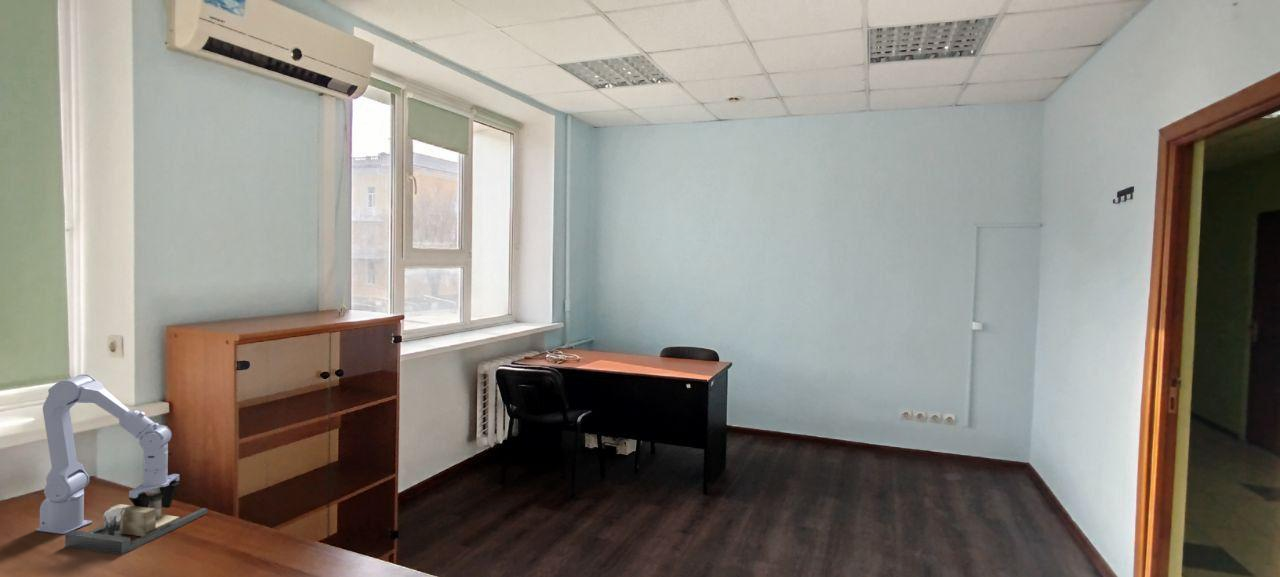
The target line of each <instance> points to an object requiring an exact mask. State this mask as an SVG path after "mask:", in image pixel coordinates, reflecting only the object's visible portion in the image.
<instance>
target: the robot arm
mask: <svg viewBox="0 0 1280 577" xmlns="http://www.w3.org/2000/svg"><path fill="white" fill-rule="evenodd" d="M47 393H48V394H47V397H46V399H45V401H44V402H43V406H42V413H43V419H44V426H45V432H46V439H47V443H48V444H47V446H48V451H49V458H50V464H51V469H50V470H49V472H48V473H47V476H46V478H45V480H46V484H45V487H44V489H43V493H44V496H45V498H44V500H43V501H42V502H41V504H40V506H39V527H37V528H35V529H36V530H35V531H38V532H46V533H52V534H61V535H65V534H67V533H69V532H72V531H74V530H78V529H81V528H83V527H85V526H87V525H89V524H92V522H93V521H92V520H87V519H84V518H85V517H84V516H85V514H84V511H85V510H84V509H85V508H84V507H85V488H86V487H87V486H88V484H89V483H90V475H89V474H88V472H87V471H86V469H85V467H84V464H83V463H82V462H79V461H78V457H77V450H76V445H75V438H74V432H73V423H72V418H71V412H70V411H71V410H70V409H71V408H72V407H73V406H75V404H77V403H78V404H79V403H83V404H85V403H86V404H88V403H89V404H95V405H96V406H98V407H99V408H101V409H102V410H104V411H105V412H106V413H108V414H110V415H112V416H113V417H115V418H116V419H118V422H119V423H118V425H119V427H121V428H122V429H124V430H125V431H126V432H127V433H129V434H130V435H132V436H133V437H135V439H137V440H139V441H138V442H139V443H138V444H139V446H140V447H141V448H142V449H143V470H142V472H143V474H142V477H143V478H142V483H141V484H139V485H138V486H136V487H135V488H133V489H131V490H128V491H129V492H128V493H129V494H128V499H129V500H130V502H131V503H132V504H133V506H139V507H147V508H148V506H149V502H150V499H151V497H152V496H148V494H147V493H149V492H151V491H154V490H156V489H159V491H160V493H163V498H162V499H161V503H162V508H165V509H170V507H171V505H172V502H173V499H174V496H175V494H176V493H177V491H178V489H179V488H180V487H181V483H180V482H179V481H180V473H179V474H178V473H172V474H168V473H169V472H168V470H169V468H168V464H169V463H168V461H169V459H168V458H169V443H168V442H170V441H171V439H172V437H173V436H172V431H171V429H170V428H169V427H168V426H167V425H163V424H159V423H158V422H155V421H153V420H152V419H150V418H149V417H148V416H146V412H144V411H140V410H139V409H136V410H132V409H129V408H128V407H127V406H126V405H125V404H124V403H122V402H121V401H120V400H119V399H118V398H117V397H116V396H114V395H113V394H112V393H111V392H110V391H108V390H107V389H106V388H105V387H104V385H103V384H102V382H101V381H99V380H96V378H95V377H94V376H92V375H90V374H87V373H86V374H85V373H84V374H79V375H76V376H74V377H70V378H68V379H64V380H60V381H58V382H56V383H55V384H53V385H52V386H50V388H49V389H47Z"/></svg>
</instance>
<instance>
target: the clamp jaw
mask: <svg viewBox="0 0 1280 577" xmlns="http://www.w3.org/2000/svg"><path fill="white" fill-rule="evenodd" d="M147 496H152V497H151V499H150V502H149V508H147V507H139V506H134V505H132V504H131V505H130V504H121V503H119V504H116V505H113V506H111V507H109V508H108V510H109V509H111V508H123V507H124V510H125V515H124V521H123V529H122V535H129V536H130V535H131V536H138V537H143V536H145V535H147V534H149V533H151V532H153V531H155V530H157V529H160V528H162V527H164V526H166V525H168V524H170V523H172V522H174V521H177V520H179V519H181V517H180V516H177V515H169V514H162V508H161V503H162V498H163V493H161V492H154V493H150V494H147Z"/></svg>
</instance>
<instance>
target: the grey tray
mask: <svg viewBox="0 0 1280 577" xmlns="http://www.w3.org/2000/svg"><path fill="white" fill-rule="evenodd" d="M148 508H149V506H148ZM161 509H163V507H162V502H161ZM207 514H208V508H206V507H202V508H200V509H198V510H196V511H194V512H191V513H190V514H187V515H185V516H183V517H180V519H179V520H177V521H174V522H172V523H170V524H168V525H166V526H164V527H162V528H160V529H157V530H155V531H153V532H151V533H149V534H147V535H145V536H140V537H138V538H136V539H134V540H132V541H131V537H126V536H122V537H120V536H113V535H106V529H105V524H104V525H101V526H99V527H97V528H94V529H92V530H89V531H82V530H77V529H75V530H73V531H71V532H68V533H66V534H64V536H65V540H64V543H65V544H64V546H65V548H69V549H77V550H82V551H84V550H85V551H89V552H90V551H91V552H98V553H105V554H111V555H120V556H122V555H125V554H127V553H129V552H131V551H132V550H135V549H137V548H139V547H141V546H143V545H145V544H147V543H149V542H151V541H154V540H155V539H157V538H159V537H162V536H164V535H165V534H168V533H169V532H172V531H174V530H175V529H179V528H180V527H182V526H185V525H186V524H188V523H190V522H192V521H194V520H196V519H199V518H200V517H202V516H205V515H207Z"/></svg>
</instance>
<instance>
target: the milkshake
mask: <svg viewBox="0 0 1280 577" xmlns="http://www.w3.org/2000/svg"><path fill="white" fill-rule="evenodd" d="M110 508H111V507H110ZM124 515H125V510H124V507H123V508H111V509H109V508H108V509H107V510H106V511H104V513H103V521H104V525H105V529H106V532H105V535H113V536H120V537H123V534H122V529H123V521H124Z"/></svg>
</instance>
